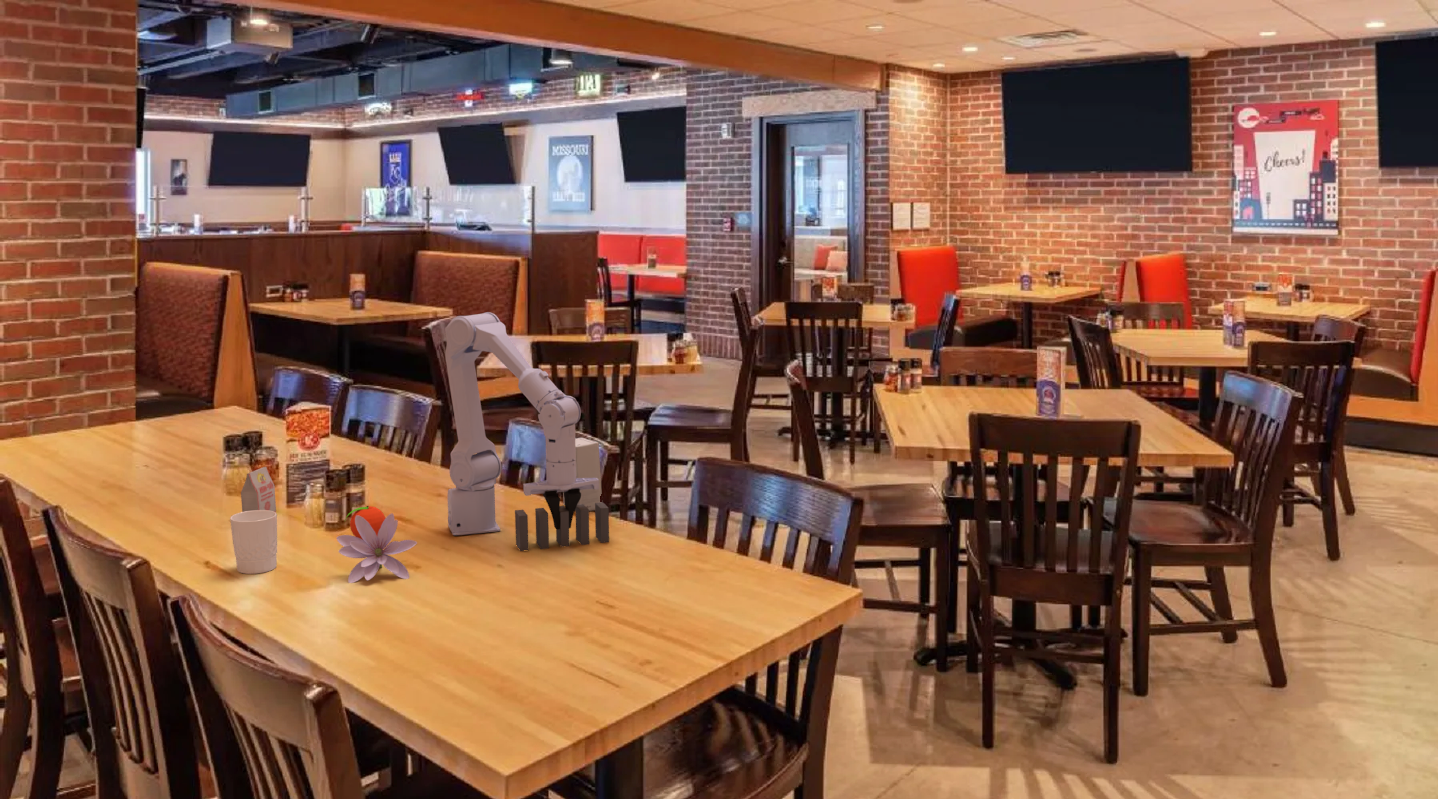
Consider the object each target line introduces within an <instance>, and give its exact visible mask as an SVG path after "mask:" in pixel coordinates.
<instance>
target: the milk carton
mask: <svg viewBox="0 0 1438 799" xmlns="http://www.w3.org/2000/svg"><path fill="white" fill-rule="evenodd" d="M267 468H268V467H267V466H262V467H261V468H258V469H256V470H253V471H251V472H248V473H247V474H246V477H245V478H246V479H245V481H244V483H243V486H242V488H241V491H240V499H241V512H245V511H253V510H269V511H274V512H276V513H277V506H276V502H277V501H276V487H275V484H274V481H273V480H272V478H271V476H270V473H269V471H268V469H267Z"/></svg>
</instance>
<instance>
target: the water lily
mask: <svg viewBox="0 0 1438 799" xmlns="http://www.w3.org/2000/svg"><path fill="white" fill-rule="evenodd" d="M398 521H399V520H398V519H395V515H394V513H390V514H388V515H387V516H385V520H384V521H383V523H382V525H381V528H380V529H379V532H378V535H376V533H375V531H374V530H373V529H372V527H371V526H370V524H369V523H368V522H367V521H366V520H365V519H364V518H363V517H361V516H358V515H356V517H355V524H356V528H357V530H358V532H359V534H360V535H361V537H362V539H363V540H362V539H360V538H358V537H355V536H354V535H350V534H343V535H341V534H340V535H338V536H336V540H337V542H338V543H339V544H340V545H341V546H343V547H341V548H340V549H338V553H339V554H341V555H342V556H345V557H346V558H351V559H362V560H361V561H359V562H358V563H357V564H356V565H355V566H354V567H353V568H352V569H351V571H349V572H350V573H349V575H348V579H347V582H348V584H353V583H355V582H358V581H359V580H361V579H363V577H364V578H365V580H366V581H370V580H371V579H373V578H374V577H375V576H376V574H377V573H378V571H379V569H382V568H383V567H384V568H385V569H386V570H388V571H389V572H391V573H392V574H394V575H395V576H397V577H399V578H401V579H403V580H408V579H410V573H409V571H408V569H407V567H406V566H405V565H404V564H403V563H402V561H399V560H398V559H396V558H395V557H393V556H391V555H396V554H397V555H398V554H401V553H404V552H407V551H408V550H410V549H412V548H413V547H415V546H416V545H417V544H418V542H417V541H416V540H412V539H404V540H399V541H398V540H393V541H392V539H393V538H394V537H395V536H394V535H395V533H396V532H397V529H398ZM391 541H392V542H391Z"/></svg>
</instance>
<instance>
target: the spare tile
mask: <svg viewBox="0 0 1438 799" xmlns="http://www.w3.org/2000/svg"><path fill="white" fill-rule="evenodd" d="M559 517H560V529H556V528H555V537H556V538H555V539H556V542H557V543H558V544H559V545H558V546H560V547H561V548H564V546H566V547H570V528H569V511H568V510H567V509H566V508H565V506H564V505H560V507H559Z"/></svg>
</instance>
